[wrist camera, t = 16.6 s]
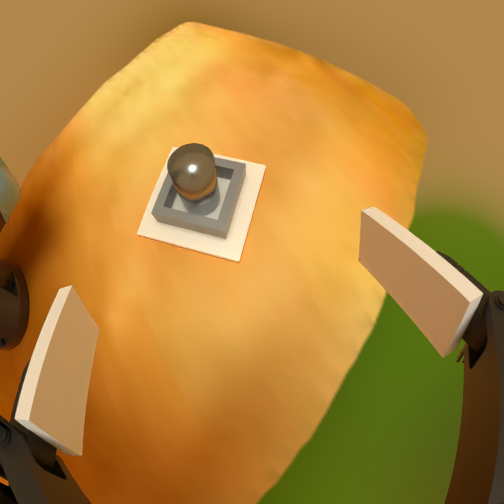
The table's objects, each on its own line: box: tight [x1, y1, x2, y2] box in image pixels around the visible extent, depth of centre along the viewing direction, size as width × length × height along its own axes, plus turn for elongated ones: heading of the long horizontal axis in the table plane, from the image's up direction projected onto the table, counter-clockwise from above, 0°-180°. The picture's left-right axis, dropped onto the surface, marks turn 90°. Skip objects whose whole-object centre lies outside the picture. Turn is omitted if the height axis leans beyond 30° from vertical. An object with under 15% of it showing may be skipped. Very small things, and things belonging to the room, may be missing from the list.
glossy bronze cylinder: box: [167, 143, 220, 216], centre depth 32 cm, size 5×5×9 cm
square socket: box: [137, 147, 266, 263], centre depth 35 cm, size 14×14×4 cm
